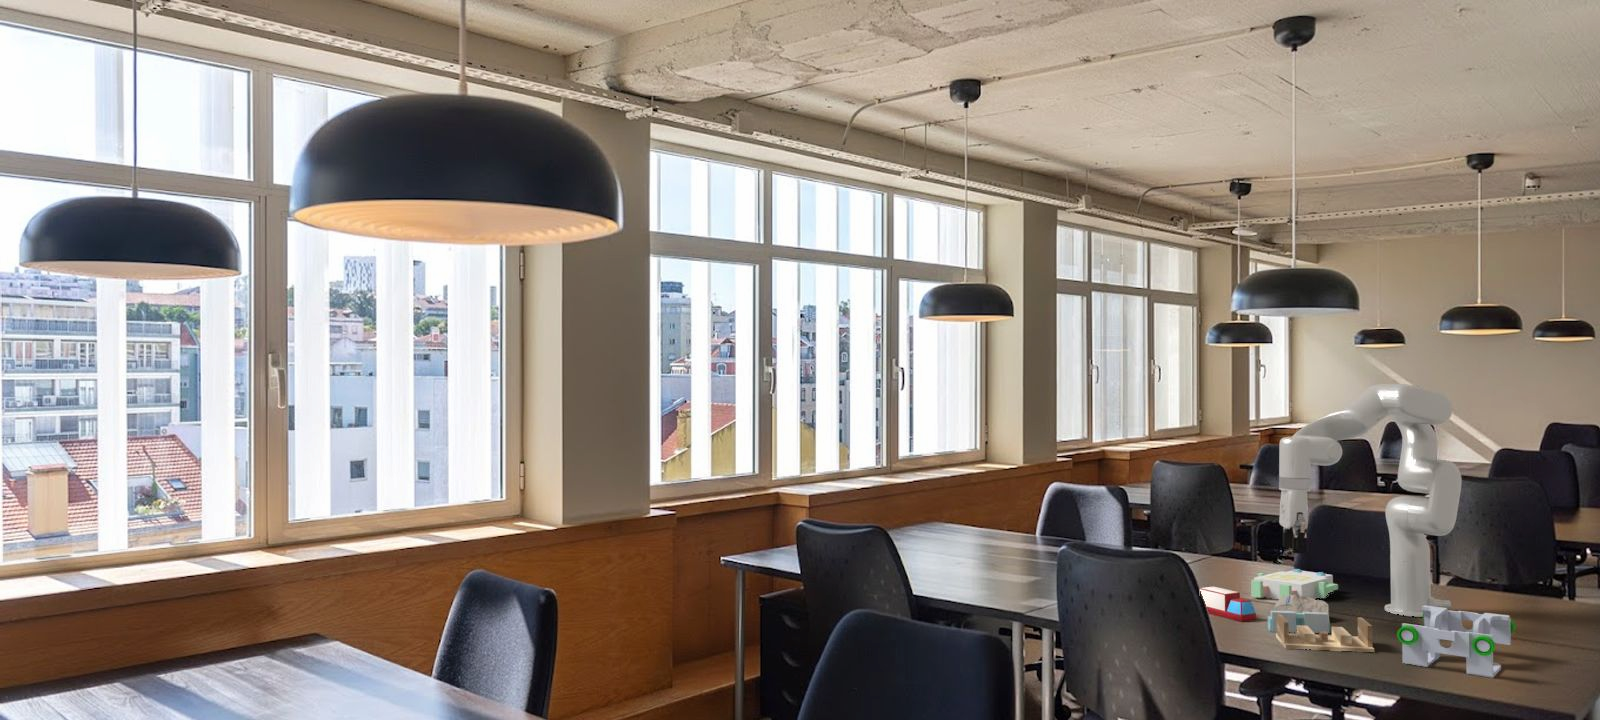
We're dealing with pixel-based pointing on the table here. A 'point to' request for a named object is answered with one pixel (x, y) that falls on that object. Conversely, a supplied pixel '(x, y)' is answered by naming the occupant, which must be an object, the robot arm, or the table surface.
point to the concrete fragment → (1301, 604)
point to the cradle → (1325, 637)
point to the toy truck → (1228, 604)
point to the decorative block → (1293, 584)
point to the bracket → (1456, 638)
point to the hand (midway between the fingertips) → (1294, 550)
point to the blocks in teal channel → (1301, 621)
